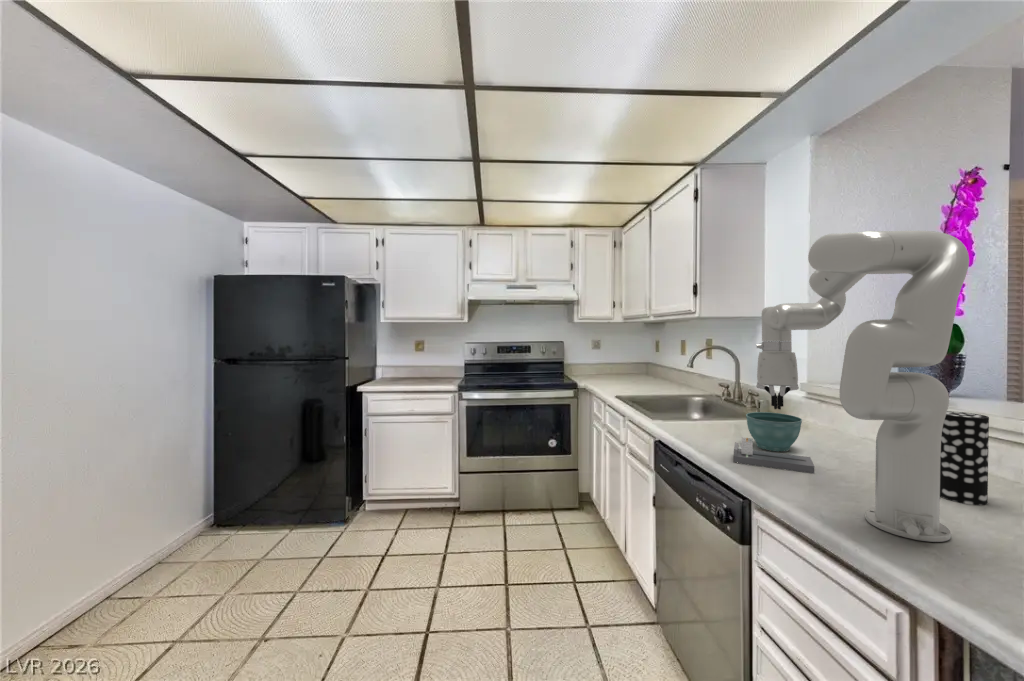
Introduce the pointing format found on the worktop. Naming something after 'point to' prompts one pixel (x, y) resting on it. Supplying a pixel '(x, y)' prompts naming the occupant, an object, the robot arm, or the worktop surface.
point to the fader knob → (747, 446)
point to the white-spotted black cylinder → (964, 458)
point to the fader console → (775, 460)
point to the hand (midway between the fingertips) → (777, 408)
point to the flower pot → (773, 430)
